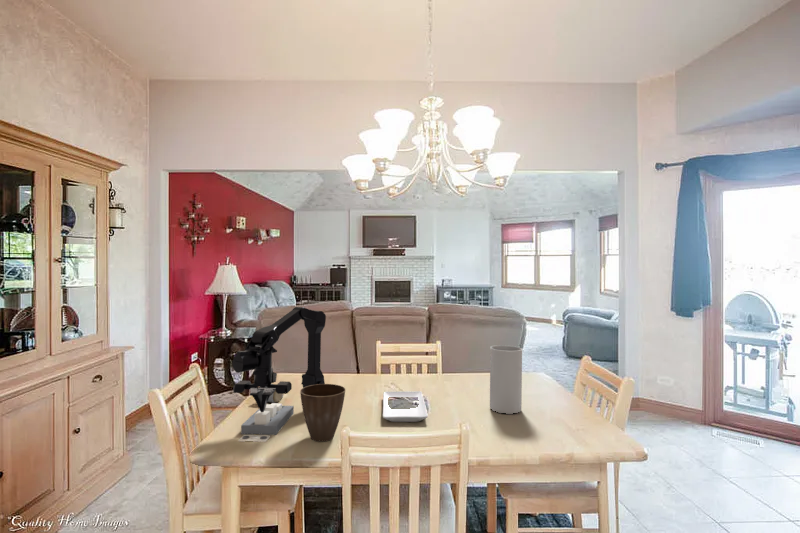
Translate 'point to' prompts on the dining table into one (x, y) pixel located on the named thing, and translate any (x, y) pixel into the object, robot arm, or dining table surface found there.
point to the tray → (404, 414)
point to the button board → (272, 426)
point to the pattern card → (255, 438)
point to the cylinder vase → (505, 379)
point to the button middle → (271, 409)
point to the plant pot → (322, 409)
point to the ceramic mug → (275, 397)
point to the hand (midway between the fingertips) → (262, 411)
